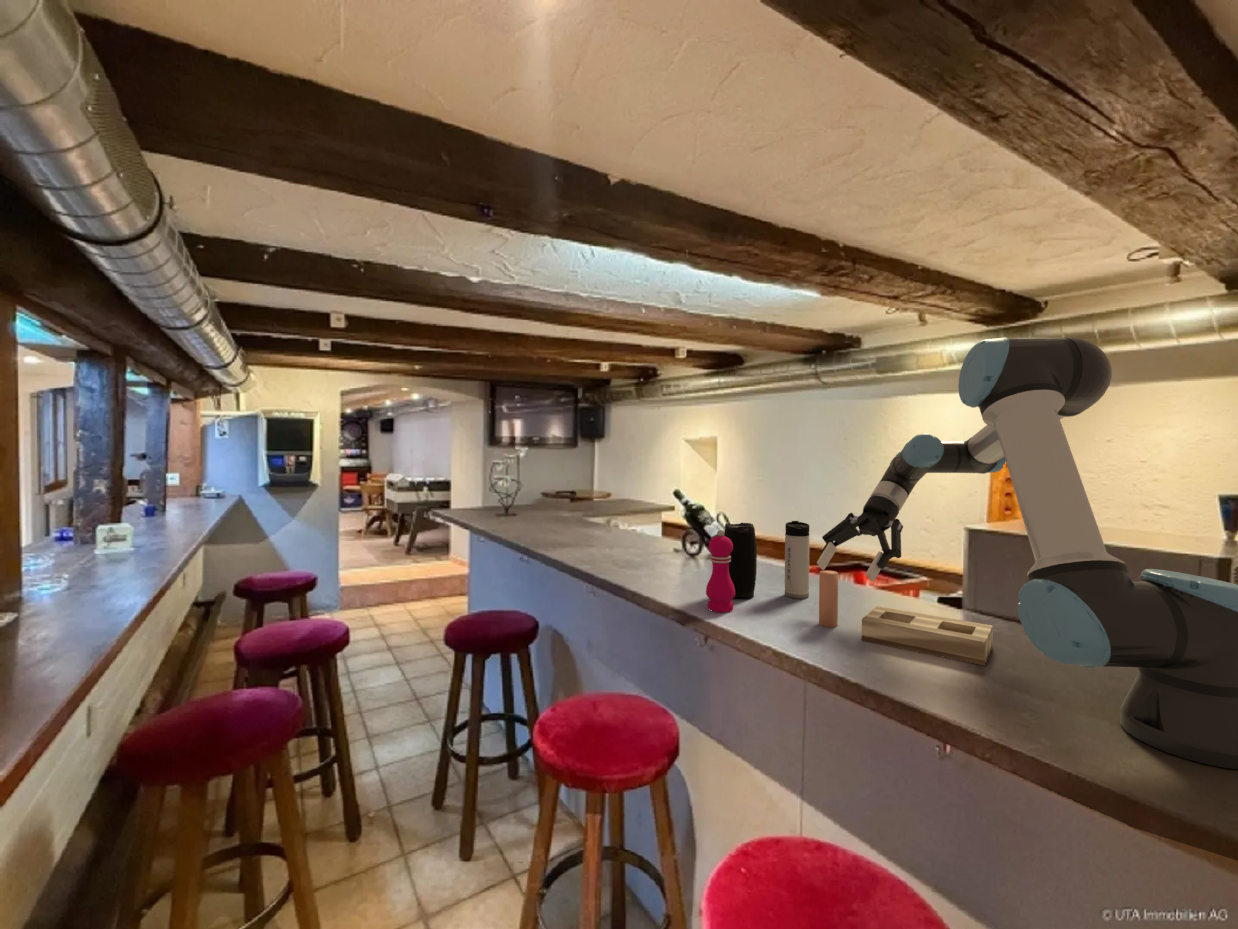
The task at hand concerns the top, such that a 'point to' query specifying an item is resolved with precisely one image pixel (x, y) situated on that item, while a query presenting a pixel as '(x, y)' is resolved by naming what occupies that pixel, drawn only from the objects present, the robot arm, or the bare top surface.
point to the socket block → (928, 634)
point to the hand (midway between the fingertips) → (843, 572)
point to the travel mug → (797, 560)
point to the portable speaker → (742, 558)
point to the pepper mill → (720, 575)
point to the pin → (828, 598)
